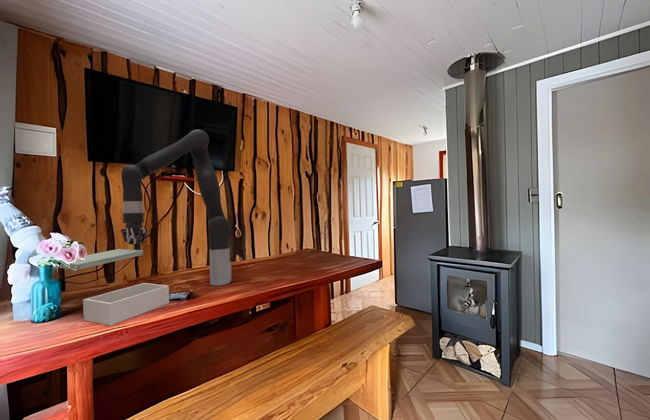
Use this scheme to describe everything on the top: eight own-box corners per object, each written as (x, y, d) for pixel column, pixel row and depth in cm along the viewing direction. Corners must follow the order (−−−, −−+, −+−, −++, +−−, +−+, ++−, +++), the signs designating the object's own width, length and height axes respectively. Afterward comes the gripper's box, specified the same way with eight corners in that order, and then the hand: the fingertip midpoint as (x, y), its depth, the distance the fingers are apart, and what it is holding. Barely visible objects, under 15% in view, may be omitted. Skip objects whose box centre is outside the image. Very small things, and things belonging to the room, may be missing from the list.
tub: (144, 299, 113) (143, 282, 113) (169, 303, 108) (168, 285, 108) (83, 320, 93) (83, 299, 93) (110, 325, 88) (109, 303, 88)
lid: (127, 251, 123) (127, 242, 123) (152, 252, 118) (151, 243, 118) (52, 266, 99) (50, 256, 98) (78, 269, 93) (77, 257, 93)
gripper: (153, 211, 119) (154, 251, 119) (131, 212, 124) (132, 250, 124) (135, 212, 112) (137, 254, 112) (113, 212, 117) (114, 252, 117)
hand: (134, 251), depth 118 cm, fingers closed on lid, 3 cm apart
